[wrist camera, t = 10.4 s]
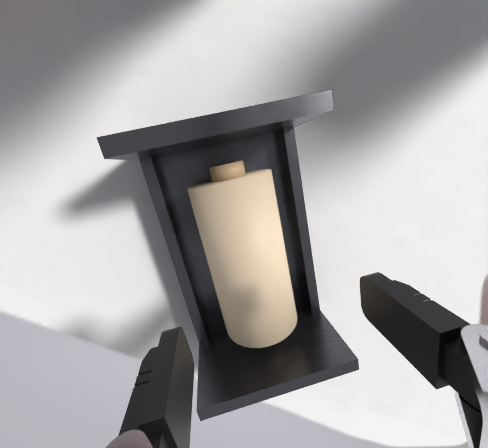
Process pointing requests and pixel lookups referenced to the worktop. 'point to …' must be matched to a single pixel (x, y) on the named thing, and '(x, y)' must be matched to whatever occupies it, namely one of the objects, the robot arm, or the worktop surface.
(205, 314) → the roll holder
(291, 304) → the cylinder
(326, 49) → the worktop surface
